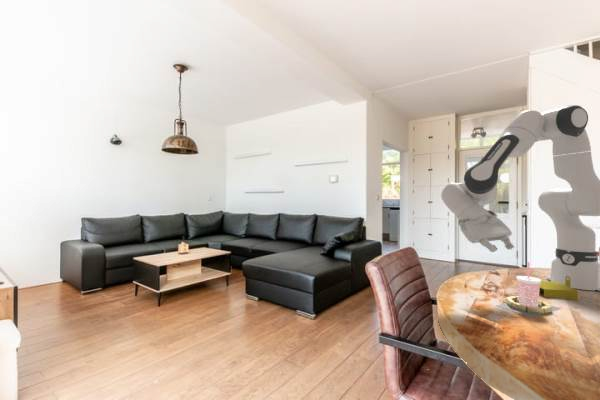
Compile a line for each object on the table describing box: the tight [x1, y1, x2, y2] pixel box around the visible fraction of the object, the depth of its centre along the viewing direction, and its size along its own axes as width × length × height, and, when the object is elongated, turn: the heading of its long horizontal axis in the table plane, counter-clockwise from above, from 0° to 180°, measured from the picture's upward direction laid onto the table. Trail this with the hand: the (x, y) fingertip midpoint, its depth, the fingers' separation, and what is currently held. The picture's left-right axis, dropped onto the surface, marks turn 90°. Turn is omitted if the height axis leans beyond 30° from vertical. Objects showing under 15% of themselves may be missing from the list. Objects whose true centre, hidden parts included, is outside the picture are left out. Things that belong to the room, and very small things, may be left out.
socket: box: [505, 295, 553, 315], centre depth 89 cm, size 10×10×2 cm
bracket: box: [539, 276, 579, 302], centre depth 103 cm, size 16×8×15 cm
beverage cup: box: [515, 261, 542, 307], centre depth 89 cm, size 6×6×14 cm
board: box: [496, 302, 562, 319], centre depth 89 cm, size 16×10×1 cm, turn 115°
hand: (503, 249), depth 95 cm, fingers open, 8 cm apart
